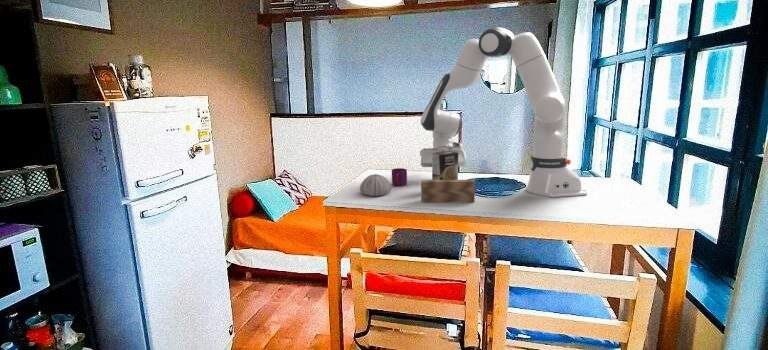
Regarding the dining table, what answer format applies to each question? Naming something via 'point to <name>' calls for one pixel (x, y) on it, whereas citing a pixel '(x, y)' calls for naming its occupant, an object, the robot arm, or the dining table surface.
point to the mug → (399, 177)
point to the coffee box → (445, 165)
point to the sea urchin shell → (375, 185)
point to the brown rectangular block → (447, 190)
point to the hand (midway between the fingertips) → (443, 174)
